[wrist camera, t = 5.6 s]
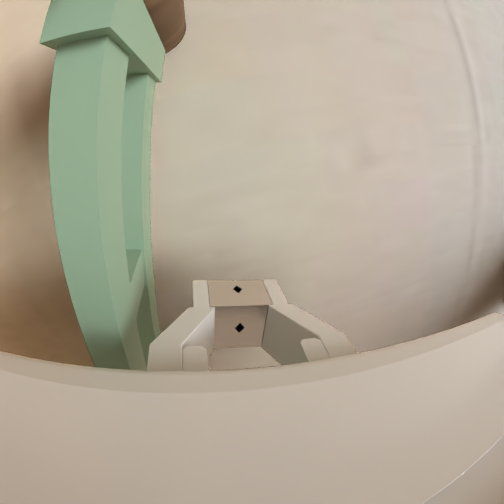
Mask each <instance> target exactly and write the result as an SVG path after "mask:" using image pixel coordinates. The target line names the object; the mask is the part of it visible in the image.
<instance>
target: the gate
mask: <svg viewBox="0 0 504 504" xmlns="http://www.w3.org/2000/svg"><path fill="white" fill-rule="evenodd" d="M40 44H42V45H45V46H47V47H50V48H52V49H55V50H57V51H56V57H55V63H54V70H53V77H52V85H51V95H50V109H49V139H48V143H49V174H50V187H51V198H52V207H53V215H54V222H55V228H56V234H57V240H58V246H59V251H60V256H61V260H62V265H63V269H64V274H65V278H66V282H67V285H68V289H69V293H70V297H71V300H72V303H73V307H74V310H75V313H76V316H77V320H78V323H79V326H80V328H81V331H82V334H83V337H84V340H85V342H86V345H87V348H88V350H89V353H90V355H91V358H92V360H93V363H94V365H95V367H100V368H111V369H125V370H144V371H147V364H148V355H149V346H150V344H151V343H152V342H153V341H154V340H155V339H156V338H157V337H158V336H159V335H160V327H159V319H158V311H157V303H156V294H155V283H154V272H153V259H152V243H151V221H150V151H151V129H152V114H153V101H154V91H155V82H162V73H163V65H164V58H165V49H164V46H163V44H162V42H161V40H160V38H159V35H158V33H157V31H156V29H155V26H154V24H153V22H152V20H151V17H150V15H149V13H148V11H147V9H146V6H145V4H144V2H143V0H51V3H50V6H49V9H48V12H47V16H46V19H45V23H44V27H43V31H42V35H41V39H40Z"/></svg>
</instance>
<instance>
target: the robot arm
mask: <svg viewBox="0 0 504 504" xmlns="http://www.w3.org/2000/svg"><path fill="white" fill-rule="evenodd" d="M192 304H193V307H188V308H187V309H186V310H185V311H184V312H183V313H182V314H181V315H180V316H179V317H178V318H177V319H176V320H175V321H174V322H173V323H172V324H171V325H170V326H169V327H167V328H166V329H165V330H164V331H163V332H162V333H161V334H160V335H159V336H158V337H157V338H156V339H155V340H154V341H153V342H152V343H151V344H150V346H149V355H148V364H147V371H144V370H125V369H111V368H100V367H90V366H81V365H73V364H66V363H59V362H53V361H47V360H41V359H36V358H31V357H26V356H21V355H16V354H12V353H7V352H3V351H0V504H504V315H503V314H500V313H491V314H489V315H487V316H484V317H482V318H479V319H476V320H474V321H471V322H468V323H466V324H463V325H460V326H457V327H454V328H451V329H448V330H445V331H442V332H439V333H436V334H432V335H429V336H426V337H422V338H419V339H415V340H411V341H408V342H404V343H400V344H396V345H392V346H388V347H384V348H380V349H375V350H371V351H366V352H361V353H357V352H356V351H355V349H354V348H353V346H352V345H351V343H350V341H349V340H348V338H347V337H346V335H345V334H344V333H343V332H341V331H339V330H337V329H336V328H334V327H332V326H330V325H328V324H327V323H325V322H323V321H321V320H320V319H318V318H316V317H314V316H312V315H311V314H309V313H307V312H305V311H304V310H302V309H300V308H298V307H297V306H295V305H293V304H288V302H287V300H286V299H285V297H284V295H283V293H282V291H281V289H280V287H279V285H278V283H277V281H276V280H275V279H263V280H240V281H235V280H192ZM252 346H262V348H263V349H264V350H265V351H266V352H267V353H269V354H270V355H271V356H272V357H273V358H274V359H275V360H276V361H277V362H278V363H280V364H281V365H280V366H270V367H260V368H247V369H232V370H212V371H209V363H208V358H209V357H210V355H211V354H212V352H213V350H214V349H216V348H231V347H252Z"/></svg>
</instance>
